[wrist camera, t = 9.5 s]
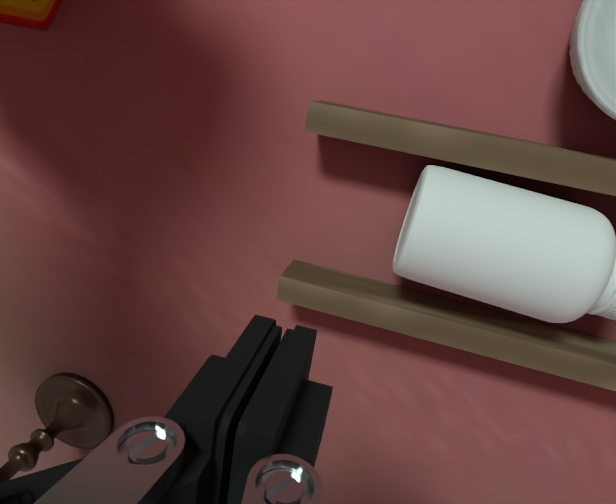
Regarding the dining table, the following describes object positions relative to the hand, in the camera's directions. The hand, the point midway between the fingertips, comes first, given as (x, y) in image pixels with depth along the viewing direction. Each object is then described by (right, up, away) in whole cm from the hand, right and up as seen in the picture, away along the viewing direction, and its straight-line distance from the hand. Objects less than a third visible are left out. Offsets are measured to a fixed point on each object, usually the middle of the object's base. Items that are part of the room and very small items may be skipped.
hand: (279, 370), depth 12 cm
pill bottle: (+7, +6, +20) cm, 22 cm away
